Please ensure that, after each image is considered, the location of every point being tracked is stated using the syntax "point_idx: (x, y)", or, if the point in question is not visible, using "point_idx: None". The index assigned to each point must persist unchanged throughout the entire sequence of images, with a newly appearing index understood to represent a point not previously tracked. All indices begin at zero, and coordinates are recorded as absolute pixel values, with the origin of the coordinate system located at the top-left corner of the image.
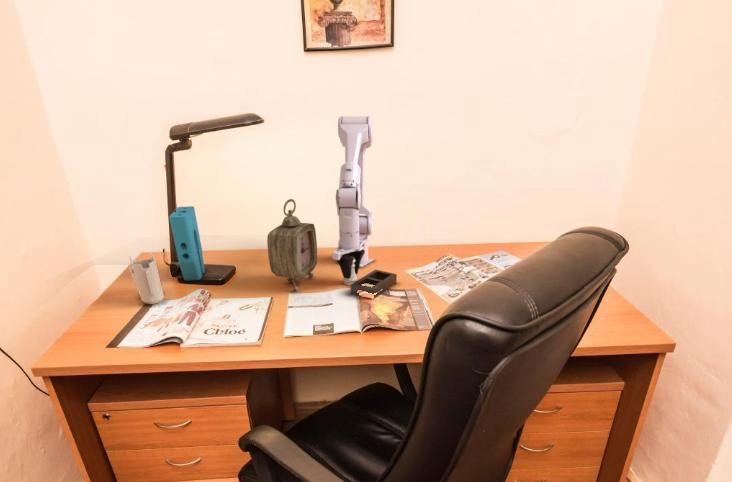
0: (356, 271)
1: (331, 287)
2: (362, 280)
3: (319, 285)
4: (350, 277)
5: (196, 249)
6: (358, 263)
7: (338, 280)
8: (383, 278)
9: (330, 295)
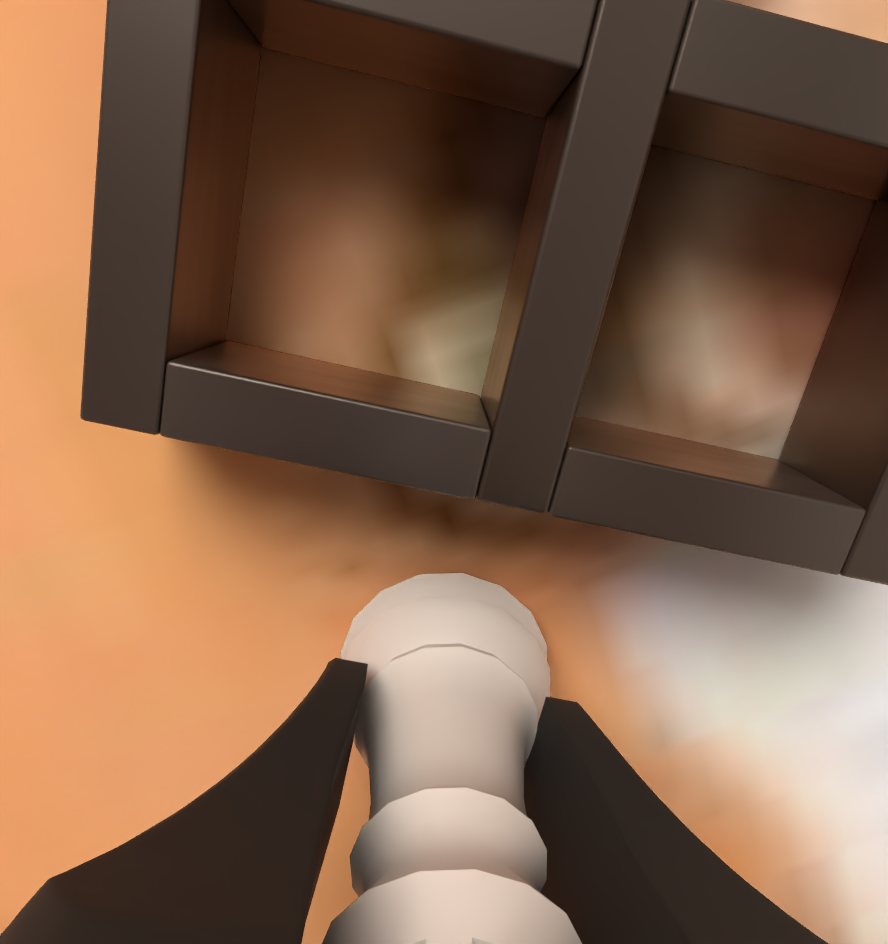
0: (361, 691)
1: None
2: (673, 467)
3: None
4: (533, 698)
5: None
6: (330, 768)
7: None
8: (222, 204)
9: (884, 733)
